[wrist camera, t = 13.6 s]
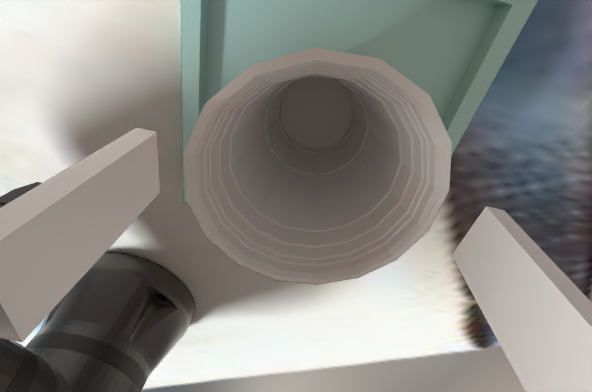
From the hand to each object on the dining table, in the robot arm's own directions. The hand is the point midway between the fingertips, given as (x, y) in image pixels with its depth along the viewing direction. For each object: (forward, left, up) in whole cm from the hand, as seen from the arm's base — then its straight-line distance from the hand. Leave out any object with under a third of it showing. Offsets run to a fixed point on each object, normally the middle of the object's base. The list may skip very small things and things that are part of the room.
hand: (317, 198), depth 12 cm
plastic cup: (0, 0, -12) cm, 12 cm away
